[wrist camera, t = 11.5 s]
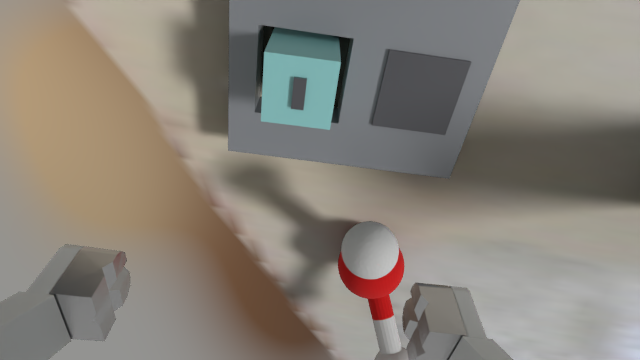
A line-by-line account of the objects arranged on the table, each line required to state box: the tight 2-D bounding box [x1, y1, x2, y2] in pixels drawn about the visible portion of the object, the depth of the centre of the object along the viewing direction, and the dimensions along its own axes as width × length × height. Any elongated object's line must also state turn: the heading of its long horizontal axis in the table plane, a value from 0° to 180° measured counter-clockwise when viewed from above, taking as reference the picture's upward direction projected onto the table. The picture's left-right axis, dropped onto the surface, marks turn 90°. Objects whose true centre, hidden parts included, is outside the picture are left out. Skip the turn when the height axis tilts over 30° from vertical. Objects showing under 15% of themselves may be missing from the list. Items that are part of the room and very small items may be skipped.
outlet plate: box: [228, 0, 520, 179], centre depth 25 cm, size 14×16×3 cm
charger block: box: [261, 27, 341, 130], centre depth 24 cm, size 4×4×6 cm
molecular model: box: [338, 221, 409, 360], centre depth 32 cm, size 18×6×10 cm, turn 12°
